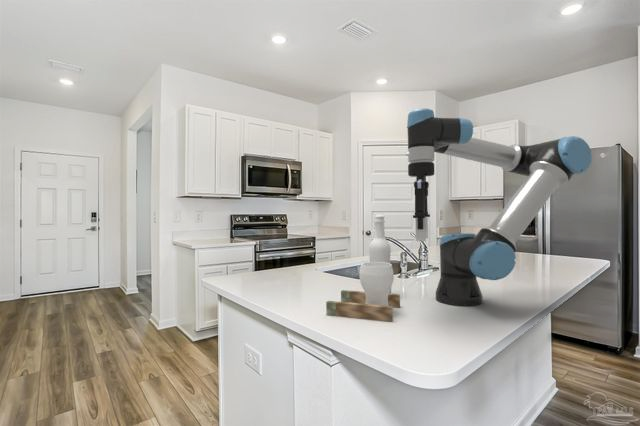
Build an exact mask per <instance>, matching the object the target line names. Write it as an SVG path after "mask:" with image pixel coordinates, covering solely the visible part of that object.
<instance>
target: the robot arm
mask: <svg viewBox="0 0 640 426" xmlns="http://www.w3.org/2000/svg"><path fill="white" fill-rule="evenodd" d="M406 124H407V125H406V126H407V127H406V128H407V152H405V153H406V154H405V155H406V156H407V162H408V163H409V164H408V165H407V169H408V170H407V171H408V172H407V175H408V177H410V178H415V181H414V182H413V186H414V187H413V188H414V215H412V218H413V219H415V241H417V242H426V241H427V239H428V238H429V227H428V225H429V224H428V222H429V221H428V219H429V218H430V217H431V214H430V213H429V211H428V208H429V207H428V206H429V205H428V196H429V187H430V186H429V181H427V177H432V176H434V175H435V163H434V161H435V153H437V154H442V155H446V156H450V157H451V156H452V157H455V158H459V159H465V160H468V161H473V162H477V163H483V164H487V165H491V166H494V167H499V168H501V169H502V170H503V171H504V172H508V173H513V174H516V175H521V176H526V178H525V180H524V181H523V183H522V184H521V185H520V187H518V189H517V190H516V192H515V193H514V194H513V195H512V197H511V198H510V199H509V201H508V202H507V204H506V205H505V206H504V207H503V208H502V210H501V211H500V212H499V213H498V215H497V216H496V218H495V219H494V220H493V221H492V223H491V224H490V225H489V227H481V229H480V230H479V231H478V232H477V233H476V234H475V233H454V234H452V233H451V234H444V235H442V236H441V237H440V239H439V240H440V241H439V261H440V262H439V263H440V279H439V281H438V284H437V288H436V290H435V299H436V300H437V301H438V302H440V303H443V304H447V305H453V306H462V307H464V306H465V307H466V306H467V307H470V306H478V305H481V304H483V294H482V290H481V288H480V286H479V282H478V279H477V278H479V279H481V280H488V281H498V280H502V279H504V278H507V276H509V275H510V274H511V273H512V272H513V270H514V268H515V265H516V261H515V259H517V258H516V252H517V246H516V243H517V241H518V240H519V238H520V237H521V236H522V234H523V233H524V232H525V230H526V229H527V228H528V226H530V224H531V223H532V221H533V220H534V219H535V217H536V216H537V214H538V213H539V212H540V211H541V209H542V208H543V207H544V205H545V204H546V203H547V201H548V200H549V199H550V198H551V196H552V195H553V194H554V192H555V191H556V190H557V188H559V187H560V188H561V187H564V186H566V185H567V184H568V183H569V181H570V180H571V178H572V177H574V175H576V174H577V175H580V174H582V173H585V172H586V171H587V170H589V168H590V167H591V164H592V160H593V155H592V150H591V148H590V146H589V144H588V142H587V141H585V139H584V138H581V137H579V136H574V135H573V136H563V137H560V138H558V139H553V140H550V141H545V142H540V143H536V144H531V145H519V144H510V145H506V144H501V143H497V142H492V141H490V140H489V141H488V140H484V139H480V138H476V137H472V136H473V135H474V134H473V133H474V125H473V123H472V120H470V119H467V118H461V117H457V118H456V117H455V118H454V117H435V112H434V110H433V109H431V108H427V107H426V108H418V109H413V110H411V111H410V112H409V113H408V115H407V123H406Z"/></svg>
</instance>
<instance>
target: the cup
mask: <svg viewBox="0 0 640 426" xmlns="http://www.w3.org/2000/svg"><path fill="white" fill-rule="evenodd" d="M359 268H360V269H359V273H358V275H359V282H360V284H361V287H362V289H363V292H365V296H366V304H371V305H382V306H389V305H388V293H389V291H390V289H391V290H392V287H393V283H394V280H395V279H394V278H395V277H394V273H395V272H394V269H393V264H392V263H391V262H390V263H385V262H370V261H368V262H363V263H361V264H360V267H359Z"/></svg>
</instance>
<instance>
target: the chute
mask: <svg viewBox="0 0 640 426" xmlns="http://www.w3.org/2000/svg"><path fill="white" fill-rule="evenodd" d="M325 302H326V304H325V305H326V308H325V309H326V316H335V317H341V318H342V317H344V318H354V319H363V320H370V321H371V320H372V321H380V322H382V321H383V322H393V318H394V317H393V313H394V312H393V308H400V307H401V294H399V293H391V294H388V305H389V306H382V305H371V304H366V296H365V291H360V290H346V289H342V290H341V291H340V301H337V300H335V301H333V300H327V301H325Z"/></svg>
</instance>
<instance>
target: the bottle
mask: <svg viewBox="0 0 640 426" xmlns="http://www.w3.org/2000/svg"><path fill="white" fill-rule="evenodd" d="M373 223H374V238H373V239H372V240H371V241H370V243H369V247H368V255H369V262H385V263H390V264H391V249H392V248H391V245H390V242H389V241H388V240H387V238H386V236H385V216H384V215H382V214H376V215H375V216H374V221H373ZM388 294H392V288H391V289H390V291H389V293H388Z"/></svg>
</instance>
